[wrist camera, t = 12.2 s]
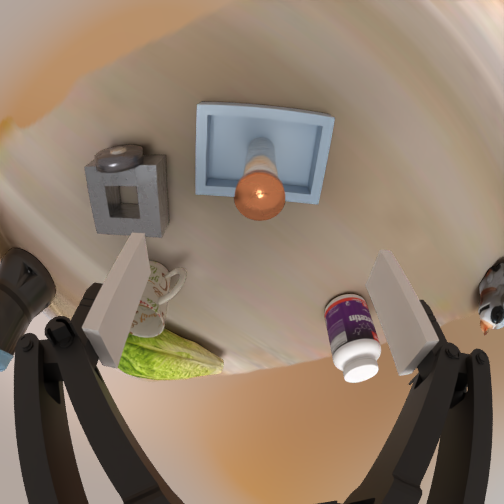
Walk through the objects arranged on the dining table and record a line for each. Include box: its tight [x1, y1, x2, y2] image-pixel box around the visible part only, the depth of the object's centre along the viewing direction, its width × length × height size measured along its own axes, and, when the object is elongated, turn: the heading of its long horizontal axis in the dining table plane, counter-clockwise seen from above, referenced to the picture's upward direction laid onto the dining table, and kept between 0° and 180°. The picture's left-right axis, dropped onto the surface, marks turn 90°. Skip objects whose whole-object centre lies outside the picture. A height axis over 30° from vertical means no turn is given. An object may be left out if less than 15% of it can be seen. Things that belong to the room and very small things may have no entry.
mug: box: [129, 261, 187, 338], centre depth 41 cm, size 8×13×10 cm, turn 123°
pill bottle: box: [324, 294, 381, 382], centre depth 44 cm, size 8×8×14 cm
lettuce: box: [118, 328, 224, 380], centre depth 52 cm, size 12×24×13 cm
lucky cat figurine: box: [478, 263, 504, 335], centre depth 42 cm, size 15×12×14 cm
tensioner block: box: [85, 145, 169, 238], centre depth 33 cm, size 10×12×6 cm
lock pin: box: [234, 137, 285, 221], centre depth 27 cm, size 4×4×13 cm
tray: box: [196, 102, 335, 204], centre depth 32 cm, size 15×11×3 cm
